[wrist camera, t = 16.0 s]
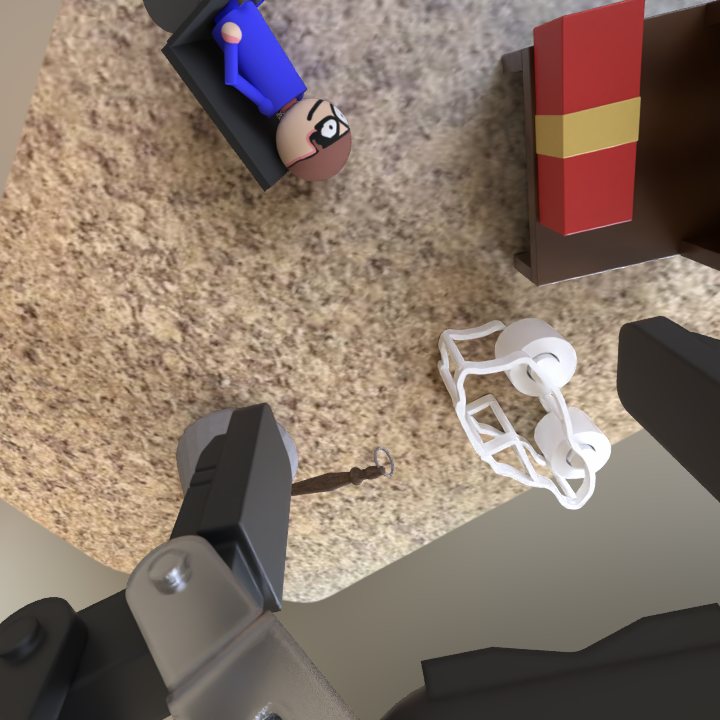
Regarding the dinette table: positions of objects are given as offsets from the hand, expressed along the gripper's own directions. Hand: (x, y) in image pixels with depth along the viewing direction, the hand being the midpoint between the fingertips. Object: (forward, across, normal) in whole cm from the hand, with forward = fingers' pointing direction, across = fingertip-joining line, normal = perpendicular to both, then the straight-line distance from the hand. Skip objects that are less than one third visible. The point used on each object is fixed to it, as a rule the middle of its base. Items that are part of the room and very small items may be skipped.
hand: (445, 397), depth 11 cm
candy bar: (+25, -14, -2) cm, 29 cm away
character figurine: (+30, +5, -9) cm, 32 cm away
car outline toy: (+30, -11, +22) cm, 39 cm away
